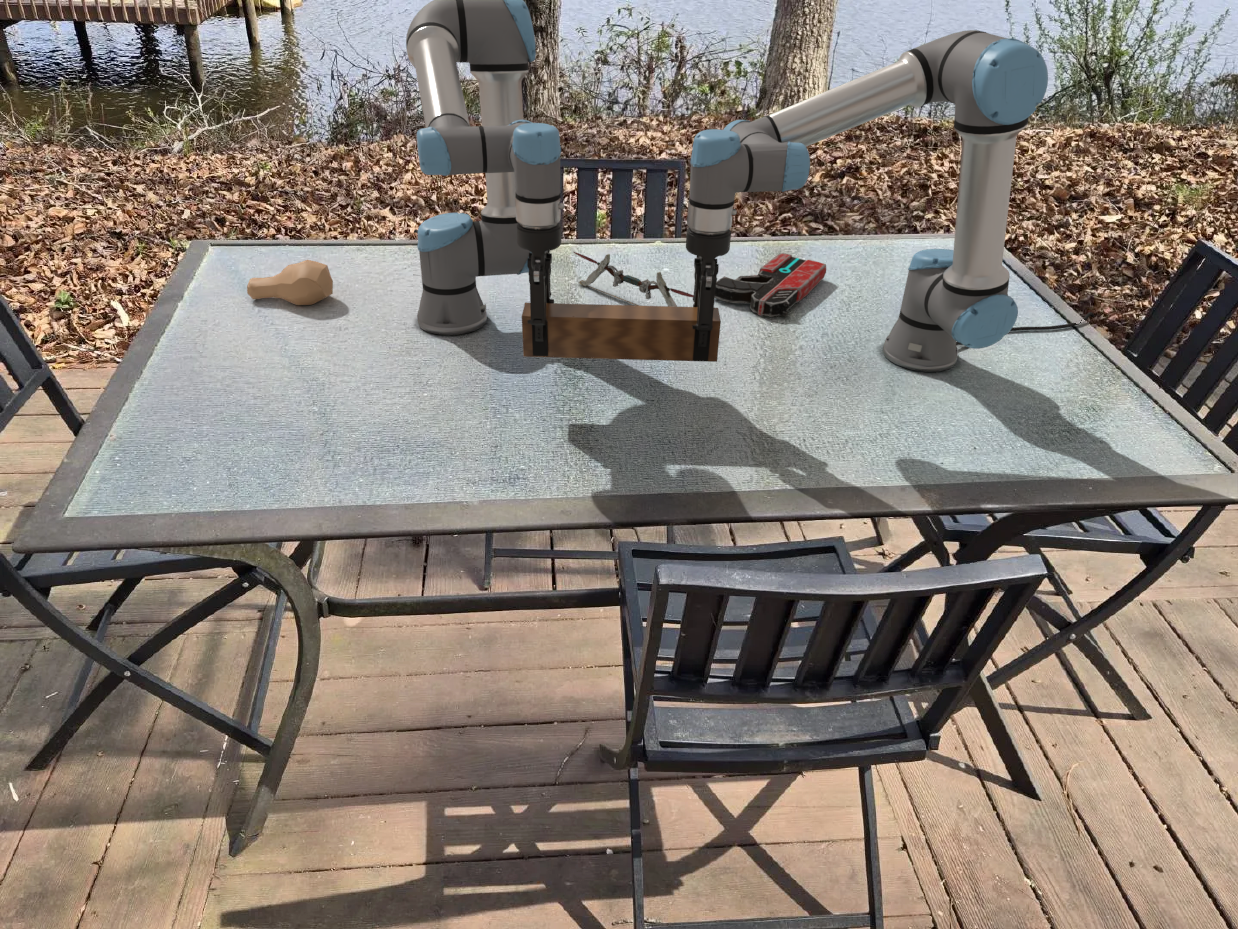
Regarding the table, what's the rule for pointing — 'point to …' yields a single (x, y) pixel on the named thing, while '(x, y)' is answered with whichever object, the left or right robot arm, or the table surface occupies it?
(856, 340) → the table surface
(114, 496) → the table surface
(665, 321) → the bar
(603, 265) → the bow
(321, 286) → the squash
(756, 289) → the gun
